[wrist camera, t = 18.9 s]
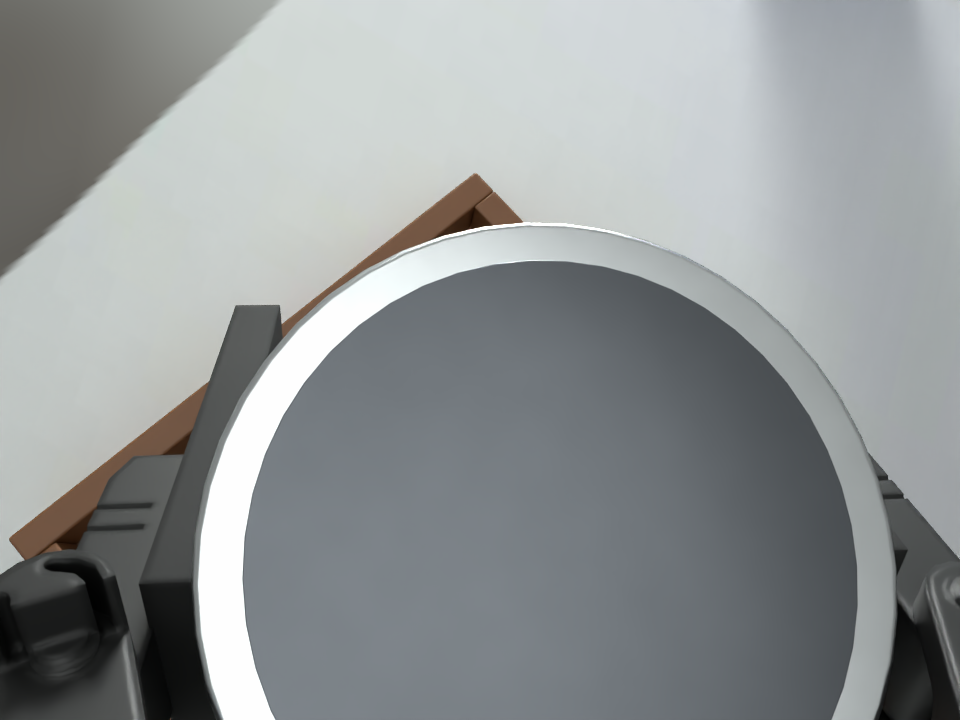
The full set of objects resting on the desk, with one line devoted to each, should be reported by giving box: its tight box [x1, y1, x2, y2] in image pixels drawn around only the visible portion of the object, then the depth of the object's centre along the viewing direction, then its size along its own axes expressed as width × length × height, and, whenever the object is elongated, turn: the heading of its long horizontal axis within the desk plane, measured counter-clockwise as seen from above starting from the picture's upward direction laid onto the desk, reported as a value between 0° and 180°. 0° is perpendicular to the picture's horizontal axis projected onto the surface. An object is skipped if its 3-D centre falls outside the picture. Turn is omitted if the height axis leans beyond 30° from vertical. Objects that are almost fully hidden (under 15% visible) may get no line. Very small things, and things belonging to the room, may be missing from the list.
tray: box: [9, 173, 524, 720], centre depth 22 cm, size 16×16×2 cm
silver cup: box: [191, 223, 898, 720], centre depth 12 cm, size 7×7×9 cm
